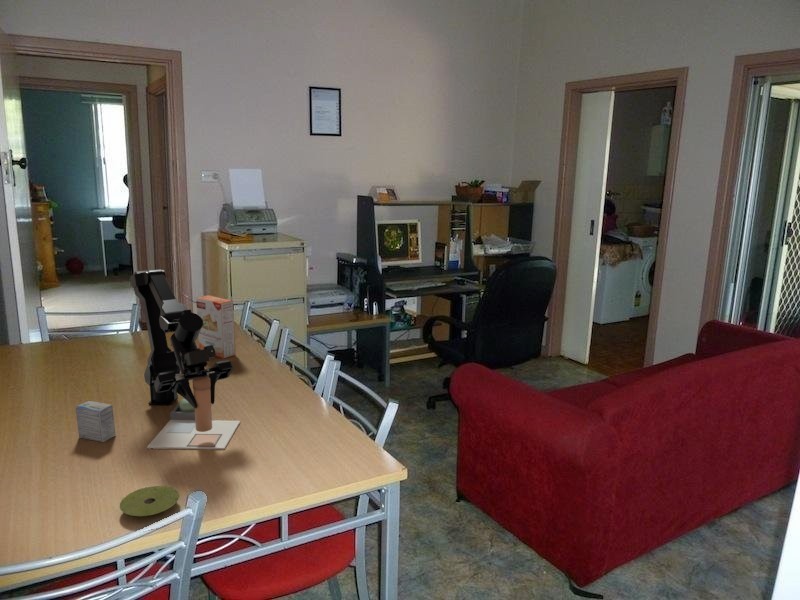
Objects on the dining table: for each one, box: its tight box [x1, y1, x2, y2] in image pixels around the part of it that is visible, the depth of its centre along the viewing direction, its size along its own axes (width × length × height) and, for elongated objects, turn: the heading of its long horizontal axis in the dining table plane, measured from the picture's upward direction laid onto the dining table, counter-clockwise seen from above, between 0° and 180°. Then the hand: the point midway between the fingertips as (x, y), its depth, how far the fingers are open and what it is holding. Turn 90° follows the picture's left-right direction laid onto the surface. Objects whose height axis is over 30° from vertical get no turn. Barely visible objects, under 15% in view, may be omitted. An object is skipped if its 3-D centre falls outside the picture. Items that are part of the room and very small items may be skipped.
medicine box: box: [75, 400, 117, 443], centre depth 152 cm, size 8×4×9 cm, turn 71°
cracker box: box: [195, 294, 236, 360], centre depth 218 cm, size 14×6×21 cm, turn 55°
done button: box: [179, 398, 195, 412], centre depth 166 cm, size 5×5×3 cm
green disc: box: [119, 485, 180, 517], centre depth 122 cm, size 11×11×2 cm
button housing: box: [169, 401, 195, 421], centre depth 167 cm, size 8×8×2 cm
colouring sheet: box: [146, 419, 241, 450], centre depth 155 cm, size 19×16×1 cm
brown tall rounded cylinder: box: [191, 377, 213, 432], centre depth 149 cm, size 4×4×13 cm
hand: (204, 405), depth 148 cm, fingers closed on brown tall rounded cylinder, 4 cm apart
